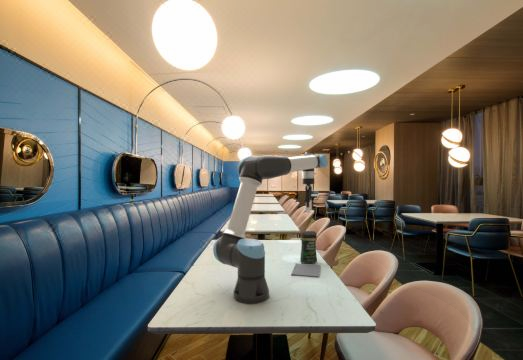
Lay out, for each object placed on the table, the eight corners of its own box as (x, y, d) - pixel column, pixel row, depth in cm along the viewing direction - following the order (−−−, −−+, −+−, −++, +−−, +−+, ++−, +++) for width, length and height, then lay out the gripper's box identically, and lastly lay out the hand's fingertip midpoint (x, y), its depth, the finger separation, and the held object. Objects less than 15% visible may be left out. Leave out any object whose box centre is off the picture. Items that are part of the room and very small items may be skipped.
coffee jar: (302, 264, 155) (302, 232, 155) (299, 260, 163) (298, 230, 163) (318, 263, 156) (318, 232, 156) (314, 259, 164) (314, 229, 164)
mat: (318, 277, 134) (318, 276, 134) (291, 275, 138) (291, 274, 138) (320, 266, 152) (320, 265, 152) (295, 264, 155) (295, 263, 155)
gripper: (313, 178, 158) (313, 213, 158) (315, 177, 182) (315, 208, 182) (300, 178, 160) (301, 213, 160) (304, 178, 184) (304, 208, 184)
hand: (308, 211), depth 171 cm, fingers open, 13 cm apart
